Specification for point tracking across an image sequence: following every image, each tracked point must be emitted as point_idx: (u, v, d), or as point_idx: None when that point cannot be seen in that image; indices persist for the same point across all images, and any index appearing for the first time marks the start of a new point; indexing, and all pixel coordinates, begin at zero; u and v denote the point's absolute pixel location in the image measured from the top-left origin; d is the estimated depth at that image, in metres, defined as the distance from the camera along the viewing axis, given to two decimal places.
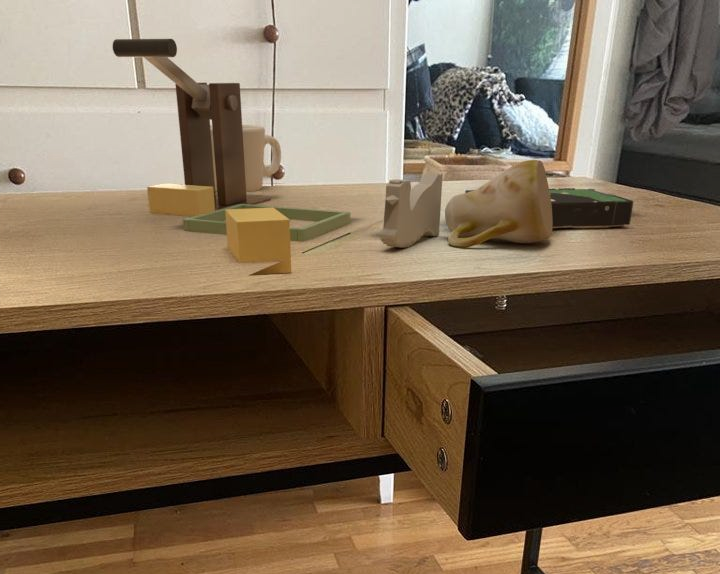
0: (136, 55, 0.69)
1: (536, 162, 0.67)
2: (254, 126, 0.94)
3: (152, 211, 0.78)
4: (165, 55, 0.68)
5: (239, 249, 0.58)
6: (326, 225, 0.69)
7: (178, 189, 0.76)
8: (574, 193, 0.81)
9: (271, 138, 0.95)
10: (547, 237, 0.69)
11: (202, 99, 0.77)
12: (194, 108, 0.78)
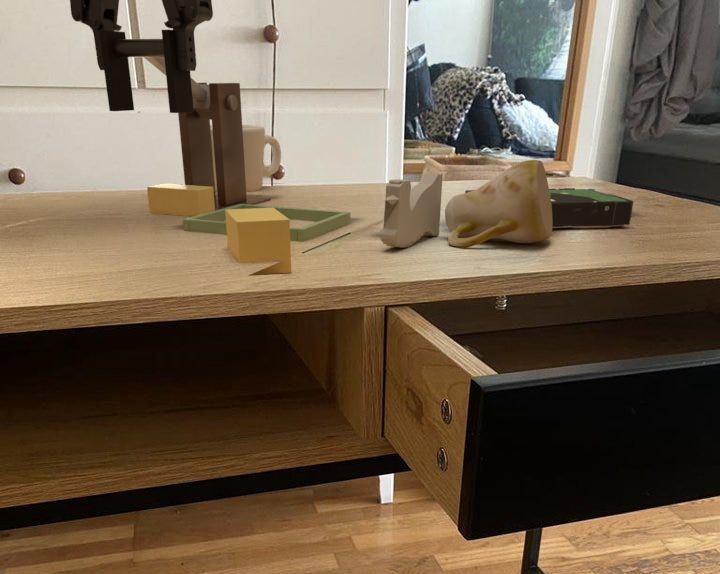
0: (136, 55, 0.69)
1: (536, 162, 0.67)
2: (254, 126, 0.94)
3: (152, 211, 0.78)
4: None
5: (239, 249, 0.58)
6: (326, 225, 0.69)
7: (178, 189, 0.76)
8: (574, 193, 0.81)
9: (271, 138, 0.95)
10: (547, 237, 0.69)
11: (202, 99, 0.77)
12: (194, 108, 0.78)
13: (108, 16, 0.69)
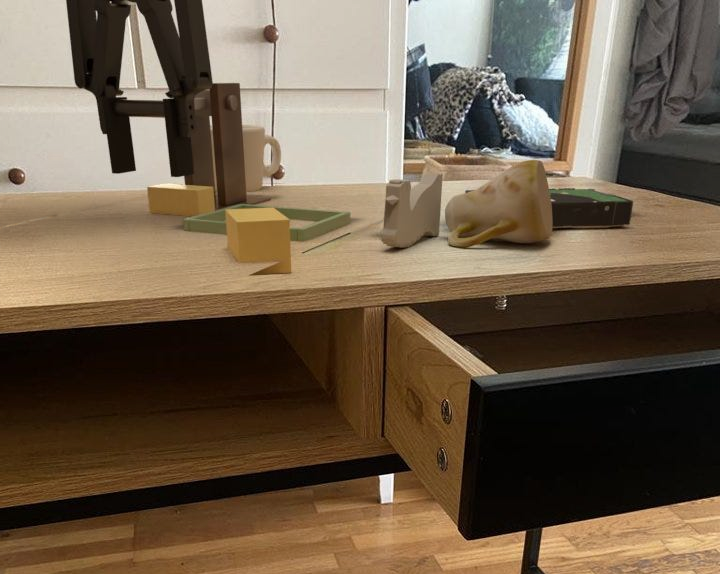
0: (138, 116, 0.71)
1: (536, 162, 0.67)
2: (254, 126, 0.94)
3: (152, 211, 0.78)
4: None
5: (239, 249, 0.58)
6: (326, 225, 0.69)
7: (178, 189, 0.76)
8: (574, 193, 0.81)
9: (271, 138, 0.95)
10: (547, 237, 0.69)
11: (203, 108, 0.78)
12: (197, 115, 0.79)
13: (110, 82, 0.71)
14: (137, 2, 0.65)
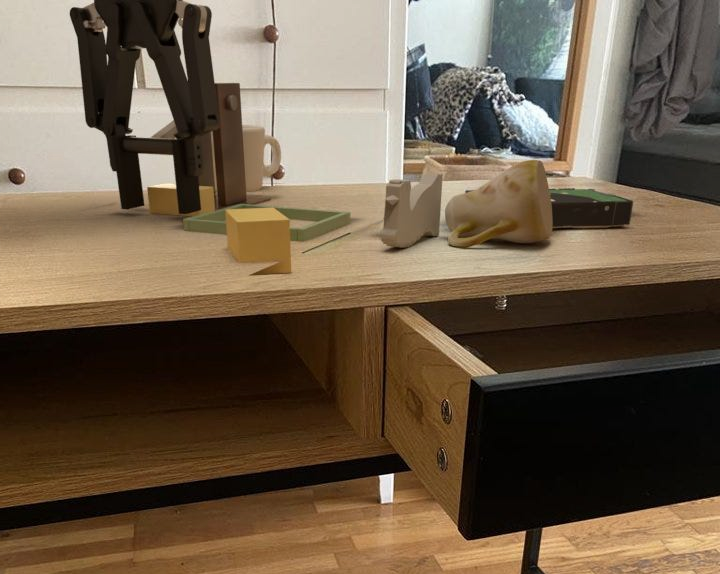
0: (147, 153, 0.73)
1: (536, 162, 0.67)
2: (254, 126, 0.94)
3: (152, 211, 0.78)
4: None
5: (239, 249, 0.58)
6: (326, 225, 0.69)
7: None
8: (574, 193, 0.81)
9: (271, 138, 0.95)
10: (547, 237, 0.69)
11: None
12: None
13: (120, 122, 0.73)
14: (147, 48, 0.67)
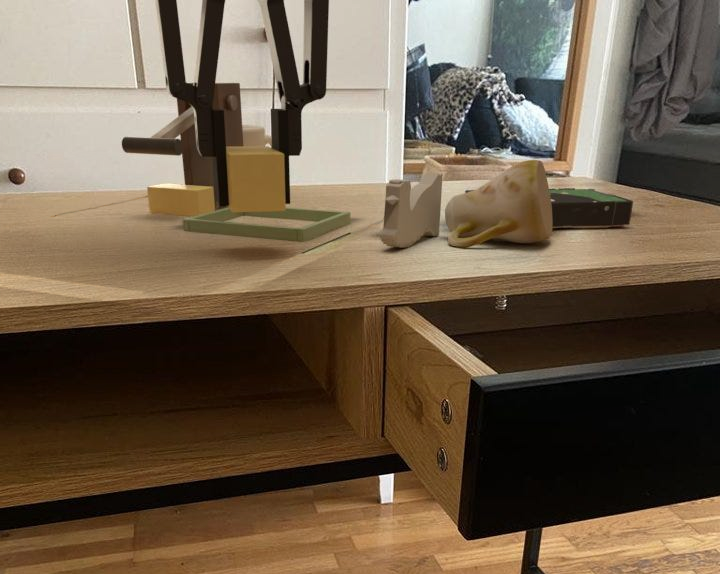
0: (147, 153, 0.73)
1: (536, 162, 0.67)
2: (254, 126, 0.94)
3: (152, 211, 0.78)
4: None
5: (231, 184, 0.55)
6: (326, 225, 0.69)
7: (178, 189, 0.76)
8: (574, 193, 0.81)
9: (271, 138, 0.95)
10: (547, 237, 0.69)
11: None
12: None
13: None
14: None
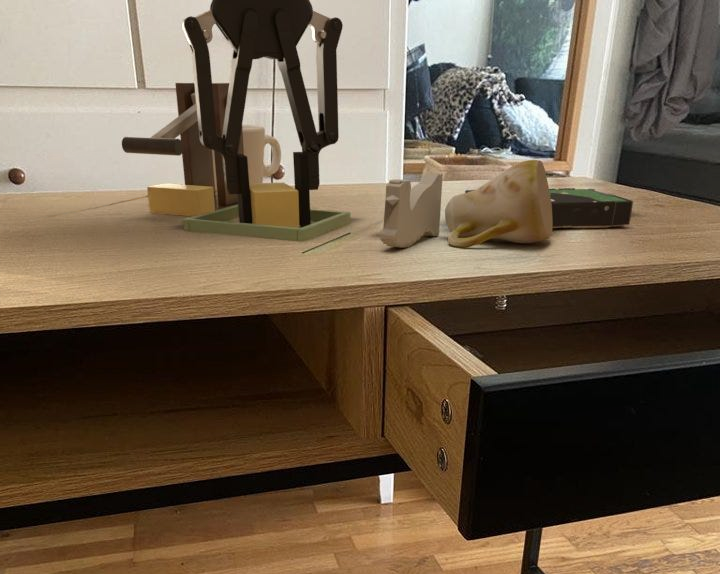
0: (147, 153, 0.73)
1: (536, 162, 0.67)
2: (254, 126, 0.94)
3: (152, 211, 0.78)
4: None
5: (255, 216, 0.68)
6: (326, 225, 0.69)
7: (178, 189, 0.76)
8: (574, 193, 0.81)
9: (271, 138, 0.95)
10: (547, 237, 0.69)
11: None
12: None
13: None
14: (289, 59, 0.64)
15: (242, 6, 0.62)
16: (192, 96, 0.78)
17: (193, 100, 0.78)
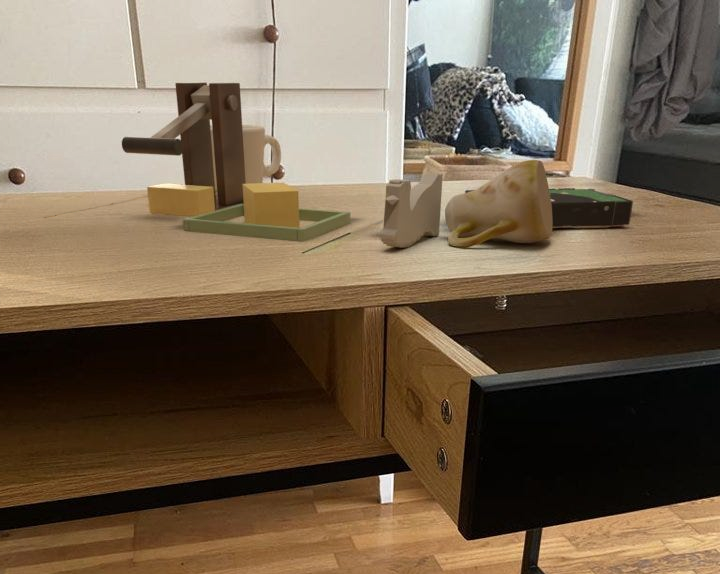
0: (147, 153, 0.73)
1: (536, 162, 0.67)
2: (254, 126, 0.94)
3: (152, 211, 0.78)
4: None
5: (255, 216, 0.68)
6: (326, 225, 0.69)
7: (178, 189, 0.76)
8: (574, 193, 0.81)
9: (271, 138, 0.95)
10: (547, 237, 0.69)
11: (205, 114, 0.78)
12: None
13: None
14: None
15: None
16: (192, 96, 0.78)
17: (193, 100, 0.78)
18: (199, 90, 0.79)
